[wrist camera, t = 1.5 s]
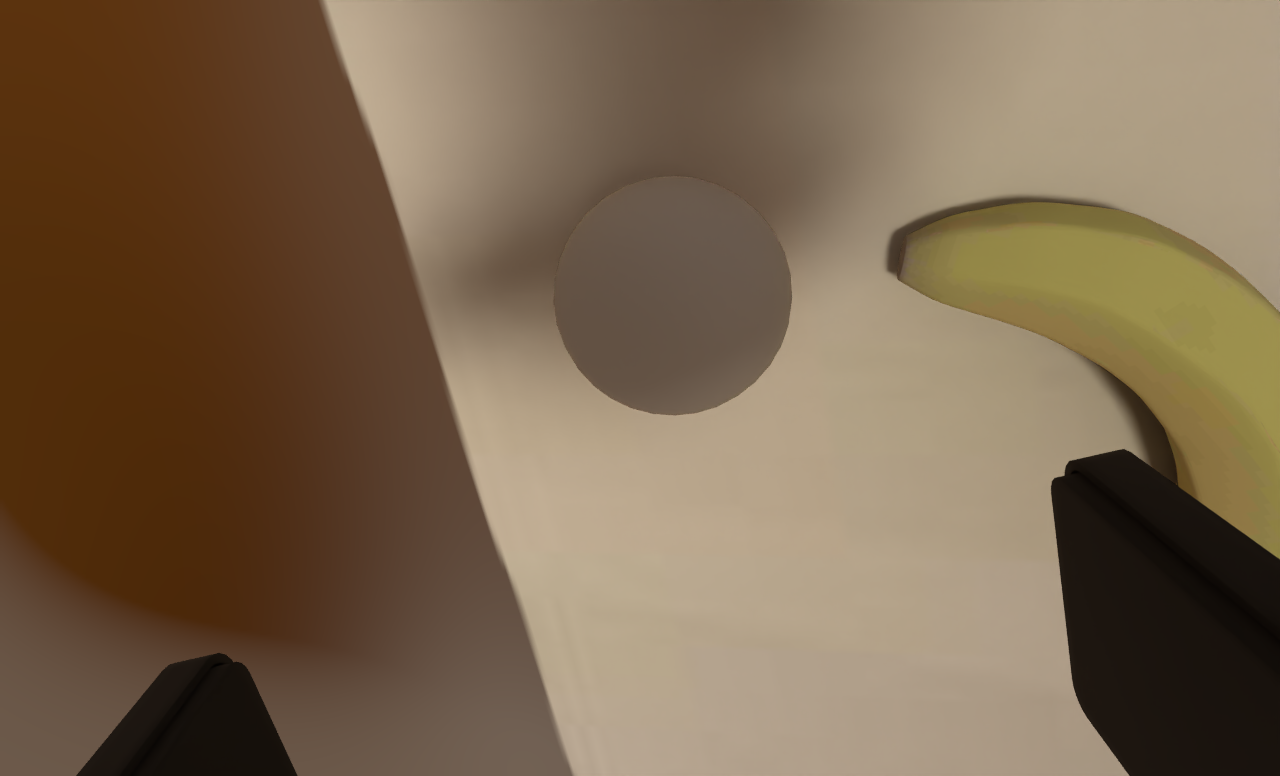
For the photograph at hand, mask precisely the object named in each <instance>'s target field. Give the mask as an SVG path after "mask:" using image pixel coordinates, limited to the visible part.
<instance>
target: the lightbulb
mask: <svg viewBox="0 0 1280 776" xmlns="http://www.w3.org/2000/svg"><path fill="white" fill-rule="evenodd" d="M791 302H792V290H791V274H790V271H789V267H788V263H787V260H786V256H785V252H784V250H783V248H782V246H781V244H780V242H779V241H778V239H777V237H776V235H775V233H774V231H773V230H772V228H771V227H770V226H769V225H768V223H767V222H766V221H765V220H764V218H763V217H762V216H761V215H760V213H759V212H758V211H757V210H755V209H754V208H753V207H752V206H751V205H749V204H748V203H747V202H746V201H744V200H743V199H742V198H741V197H740V196H738V195H737V194H735V193H733V192H731V191H729V190H727V189H725V188H723V187H722V186H720V185H718V184H714V183H711V182H708V181H704V180H701V179H697V178H691V177H679V176H666V177H657V178H649V179H645V180H642V181H639V182H636V183H633V184H630V185H627V186H624V187H623V188H621V189H619V190H617V191H616V192H614V193H612V194H610V195H609V196H607V197H605V198H604V199H602V200H601V201H600V202H599V203H598V204H597V205H596V206H594V207H593V208H592V209H591V210H590V211H589V212H588V213H586V215H585V216H584V217H583V219H582V220H581V221H580V223H579V224H578V225H577V227H576V228H575V229H574V231H573V232H572V234H571V236H570V238H569V240H568V242H567V244H566V246H565V248H564V250H563V252H562V254H561V257H560V261H559V264H558V268H557V272H556V276H555V284H554V308H555V315H556V321H557V326H558V329H559V332H560V334H561V337H562V340H563V342H564V345H565V347H566V349H567V351H568V353H569V354H570V356H571V358H572V359H573V361H574V363H575V364H576V366H577V368H578V369H579V370H580V371H581V372H582V374H583V375H584V376H585V377H586V378H587V379H588V380H589V381H590V382H591V383H592V384H593V385H594V386H595V387H596V388H598V389H599V390H600V391H602V392H603V393H604V394H606V395H607V396H608V397H610V398H611V399H613V400H615V401H618V402H620V403H622V404H624V405H626V406H628V407H630V408H633V409H637V410H641V411H645V412H648V413H652V414H664V415H683V414H692V413H698V412H701V411H704V410H708V409H711V408H714V407H717V406H719V405H721V404H723V403H725V402H727V401H729V400H731V399H733V398H735V397H736V396H738V395H739V394H741V393H742V392H743V391H744V390H746V389H747V388H748V387H750V386H751V385H752V384H753V383H755V382H756V381H757V379H758V378H759V377H760V376H761V375H762V374H763V372H764V371H765V370H766V369H767V368H768V367H769V366H770V364H771V362H772V361H773V359H774V357H775V355H776V354H777V352H778V350H779V349H780V347H781V345H782V342H783V339H784V336H785V333H786V330H787V327H788V324H789V316H790V309H791Z"/></svg>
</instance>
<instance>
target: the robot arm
mask: <svg viewBox="0 0 1280 776" xmlns="http://www.w3.org/2000/svg"><path fill="white" fill-rule="evenodd" d="M1051 495H1052V504H1053V513H1054V521H1055V530H1056V539H1057V548H1058V557H1059V566H1060V575H1061V584H1062V593H1063V602H1064V610H1065V619H1066V628H1067V637H1068V646H1069V655H1070V664H1071V673H1072V680H1073V686H1074V690H1075V693H1076V696H1077V699H1078V701H1079V704H1080V706H1081V708H1082V710H1083V712H1084V713H1085V715H1086V716H1087V718H1088V719H1089V721H1090V722H1091V724H1092V725H1093V726H1094V728H1095V729H1096V730H1097V732H1098V733H1099V735H1100V736H1101V737H1102V739H1103V740H1104V741H1105V743H1106V744H1107V745H1108V747H1109V748H1110V750H1111V751H1112V752H1113V754H1114V755H1115V756H1116V758H1117V759H1118V761H1119V762H1120V763H1121V765H1122V766H1123V767H1124V769H1125V770H1126V772H1127V773H1128V774H1129V776H1280V559H1279V558H1277V557H1276V556H1275V555H1273V554H1272V553H1270V552H1269V551H1268V550H1266V549H1265V548H1263V547H1262V546H1261V545H1259V544H1258V543H1256V542H1255V541H1254V540H1252V539H1251V538H1249V537H1248V536H1247V535H1245V534H1244V533H1242V532H1241V531H1240V530H1238V529H1237V528H1236V527H1234V526H1233V525H1231V524H1230V523H1229V522H1227V521H1226V520H1224V519H1223V518H1222V517H1220V516H1219V515H1217V514H1216V513H1215V512H1213V511H1212V510H1210V509H1209V508H1208V507H1206V506H1205V505H1203V504H1202V503H1201V502H1199V501H1198V500H1196V499H1195V498H1194V497H1192V496H1191V495H1190V494H1188V493H1187V492H1185V491H1184V490H1183V489H1181V488H1180V487H1178V486H1177V485H1176V484H1174V483H1173V482H1171V481H1170V480H1169V479H1167V478H1166V477H1164V476H1163V475H1162V474H1160V473H1159V472H1157V471H1156V470H1155V469H1153V468H1152V467H1151V466H1149V465H1148V464H1146V463H1145V462H1144V461H1142V460H1141V459H1139V458H1138V457H1137V456H1135V455H1134V454H1132V453H1131V452H1129V451H1127V450H1125V449H1122V450H1117V451H1112V452H1108V453H1103V454H1099V455H1094V456H1090V457H1086V458H1081V459H1077V460H1072V461H1069V462H1068V464H1067V465H1066V469H1065V476H1062V477H1057V478H1054V480H1053V481H1052V485H1051ZM77 776H297V774H296V772H295V769H294V767H293V765H292V763H291V761H290V759H289V757H288V754H287V752H286V750H285V748H284V746H283V743H282V742H281V739H280V737H279V735H278V733H277V731H276V728H275V726H274V724H273V722H272V720H271V718H270V715H269V714H268V711H267V709H266V707H265V705H264V702H263V700H262V698H261V696H260V694H259V692H258V689H257V687H256V685H255V683H254V681H253V679H252V677H251V674H250V672H249V671H248V669H247V668H246V667H245V666H244V665H243V664H242V663H239V662H233V661H232V660H231V659H230V658H229V657H228V656H227V655H225V654H221V653H217V654H213V655H208V656H204V657H199V658H195V659H190V660H186V661H182V662H177V663H174V664H170V665H168V666H167V667H166V668H165V669H164V670H163V671H162V672H161V673H160V675H159V676H158V677H157V678H156V680H155V681H154V682H153V683H152V684H151V685H150V687H149V688H148V689H147V690H146V691H145V693H144V694H143V695H142V696H141V698H140V699H139V700H138V701H137V703H136V704H135V705H134V706H133V707H132V709H131V710H130V711H129V712H128V713H127V715H126V716H125V717H124V718H123V719H122V721H121V722H120V723H119V724H118V726H117V727H116V728H115V729H114V730H113V732H112V733H111V734H110V735H109V737H108V738H107V739H106V740H105V742H104V743H103V744H102V745H101V746H100V748H99V749H98V750H97V751H96V752H95V754H94V755H93V756H92V757H91V759H90V760H89V761H88V762H87V763H86V765H85V766H84V767H83V768H82V769H81V771H80V772H79V773H78V774H77Z"/></svg>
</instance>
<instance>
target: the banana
mask: <svg viewBox="0 0 1280 776" xmlns="http://www.w3.org/2000/svg"><path fill="white" fill-rule="evenodd" d="M897 278H898V280H899V281H901V282H902V283H904V284H906V285H908V286H909V287H911V288H913V289H915V290H916V291H918V292H920V293H922V294H923V295H925V296H927V297H929V298H931V299H933V300H936V301H938V302H940V303H943V304H946V305H949V306H952V307H955V308H959V309H962V310H966V311H969V312H972V313H976V314H979V315H982V316H986V317H989V318H993V319H996V320H999V321H1002V322H1005V323H1008V324H1011V325H1014V326H1017V327H1020V328H1023V329H1026V330H1029V331H1032V332H1035V333H1037V334H1040V335H1042V336H1045V337H1047V338H1049V339H1051V340H1053V341H1055V342H1057V343H1059V344H1061V345H1063V346H1065V347H1067V348H1069V349H1071V350H1073V351H1075V352H1077V353H1079V354H1081V355H1083V356H1084V357H1086V358H1088V359H1090V360H1092V361H1093V362H1095V363H1097V364H1098V365H1100V366H1101V367H1103V368H1104V369H1106V370H1107V371H1109V372H1110V373H1112V374H1113V375H1114V376H1116V377H1117V378H1118V379H1119V380H1121V381H1122V382H1123V383H1125V384H1126V385H1127V386H1128V387H1130V388H1131V389H1132V390H1133V391H1134V392H1135V393H1136V394H1137V395H1138V396H1139V397H1140V398H1141V399H1142V400H1143V401H1144V403H1145V404H1146V405H1147V406H1148V407H1149V409H1150V410H1151V411H1152V412H1153V414H1154V415H1155V416H1156V418H1157V419H1158V420H1159V422H1160V423H1161V424H1162V426H1163V427H1164V429H1165V431H1166V434H1167V437H1168V440H1169V443H1170V446H1171V449H1172V452H1173V455H1174V459H1175V463H1176V468H1177V478H1178V487H1180V488H1181V489H1183V490H1184V491H1185V492H1187V493H1188V494H1190V495H1191V496H1192V497H1194V498H1195V499H1196V500H1198V501H1199V502H1201V503H1202V504H1203V505H1205V506H1206V507H1208V508H1209V509H1210V510H1212V511H1213V512H1215V513H1216V514H1217V515H1219V516H1220V517H1222V518H1223V519H1224V520H1226V521H1227V522H1229V523H1230V524H1231V525H1233V526H1234V527H1236V528H1237V529H1238V530H1240V531H1241V532H1242V533H1244V534H1245V535H1247V536H1248V537H1249V538H1251V539H1252V540H1254V541H1255V542H1256V543H1258V544H1259V545H1261V546H1262V547H1263V548H1265V549H1266V550H1268V551H1269V552H1270V553H1272V554H1273V555H1275V556H1276V557H1277V558H1279V559H1280V312H1279V311H1278V310H1277V309H1276V308H1275V307H1274V306H1273V305H1272V304H1271V303H1270V302H1269V301H1268V300H1267V299H1266V298H1265V297H1264V296H1263V295H1262V294H1261V293H1260V292H1259V291H1258V290H1257V289H1256V288H1255V287H1253V286H1252V285H1251V284H1250V283H1249V282H1248V281H1247V280H1246V279H1245V278H1244V277H1243V276H1242V275H1240V274H1239V273H1238V272H1237V271H1236V270H1235V269H1233V268H1232V267H1231V266H1229V265H1228V264H1227V263H1226V262H1224V261H1223V260H1222V259H1220V258H1219V257H1218V256H1216V255H1215V254H1213V253H1212V252H1210V251H1209V250H1207V249H1206V248H1204V247H1203V246H1201V245H1199V244H1198V243H1196V242H1194V241H1193V240H1191V239H1189V238H1187V237H1185V236H1183V235H1181V234H1179V233H1177V232H1175V231H1173V230H1171V229H1169V228H1167V227H1164V226H1162V225H1160V224H1158V223H1156V222H1153V221H1151V220H1149V219H1146V218H1144V217H1141V216H1138V215H1135V214H1132V213H1128V212H1124V211H1119V210H1114V209H1107V208H1101V207H1092V206H1082V205H1072V204H1063V203H1048V202H1028V203H1016V204H1009V205H1002V206H996V207H991V208H985V209H980V210H974V211H969V212H964V213H960V214H956V215H952V216H949V217H946V218H943V219H940V220H938V221H936V222H934V223H931V224H929V225H927V226H925V227H923V228H921V229H919V230H917V231H915V232H912V233H910V234H908V235H906V236H905V238H904V241H903V244H902V248H901V253H900V258H899V264H898V272H897Z"/></svg>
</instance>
